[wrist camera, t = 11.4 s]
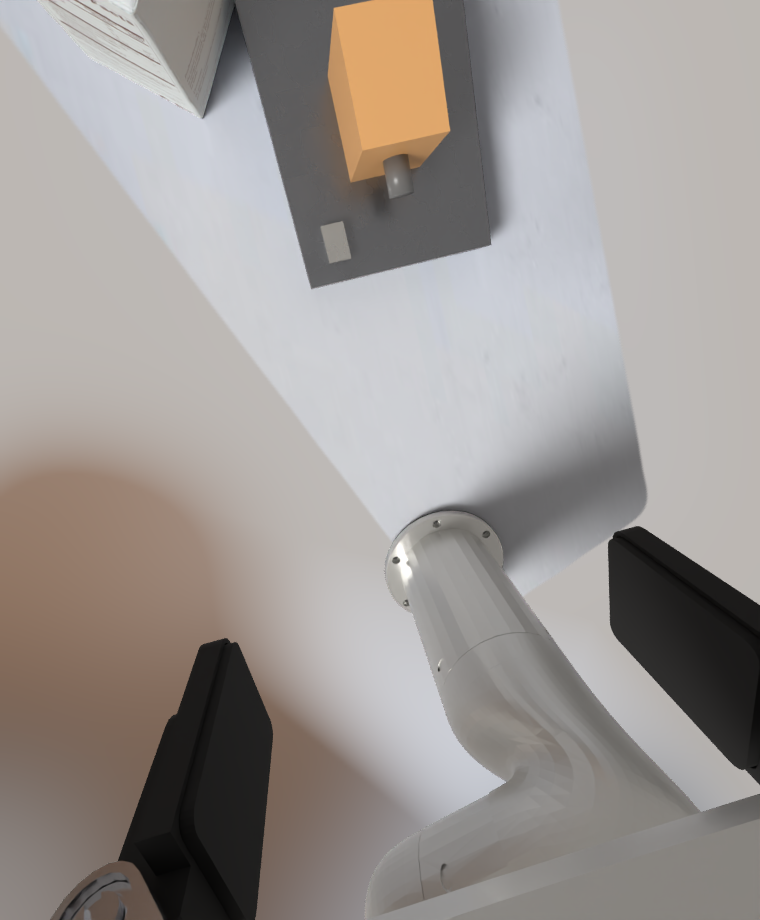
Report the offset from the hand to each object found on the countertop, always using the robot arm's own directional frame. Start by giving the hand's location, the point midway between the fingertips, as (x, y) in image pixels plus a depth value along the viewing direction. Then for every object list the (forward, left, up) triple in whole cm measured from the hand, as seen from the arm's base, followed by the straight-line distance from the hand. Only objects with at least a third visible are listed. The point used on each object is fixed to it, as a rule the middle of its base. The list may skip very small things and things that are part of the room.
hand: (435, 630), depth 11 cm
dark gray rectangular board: (+18, -7, -30) cm, 35 cm away
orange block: (+18, -7, -28) cm, 34 cm away
